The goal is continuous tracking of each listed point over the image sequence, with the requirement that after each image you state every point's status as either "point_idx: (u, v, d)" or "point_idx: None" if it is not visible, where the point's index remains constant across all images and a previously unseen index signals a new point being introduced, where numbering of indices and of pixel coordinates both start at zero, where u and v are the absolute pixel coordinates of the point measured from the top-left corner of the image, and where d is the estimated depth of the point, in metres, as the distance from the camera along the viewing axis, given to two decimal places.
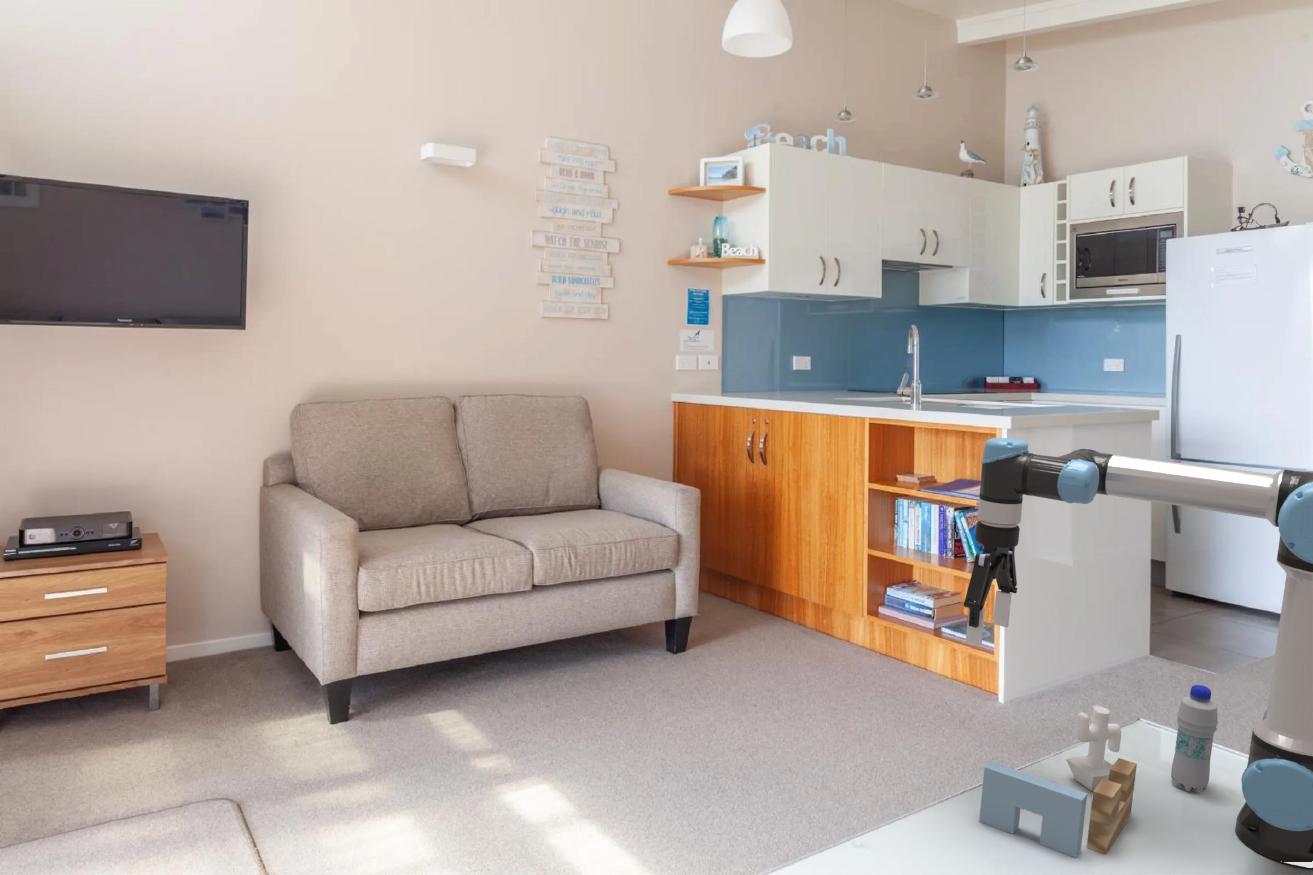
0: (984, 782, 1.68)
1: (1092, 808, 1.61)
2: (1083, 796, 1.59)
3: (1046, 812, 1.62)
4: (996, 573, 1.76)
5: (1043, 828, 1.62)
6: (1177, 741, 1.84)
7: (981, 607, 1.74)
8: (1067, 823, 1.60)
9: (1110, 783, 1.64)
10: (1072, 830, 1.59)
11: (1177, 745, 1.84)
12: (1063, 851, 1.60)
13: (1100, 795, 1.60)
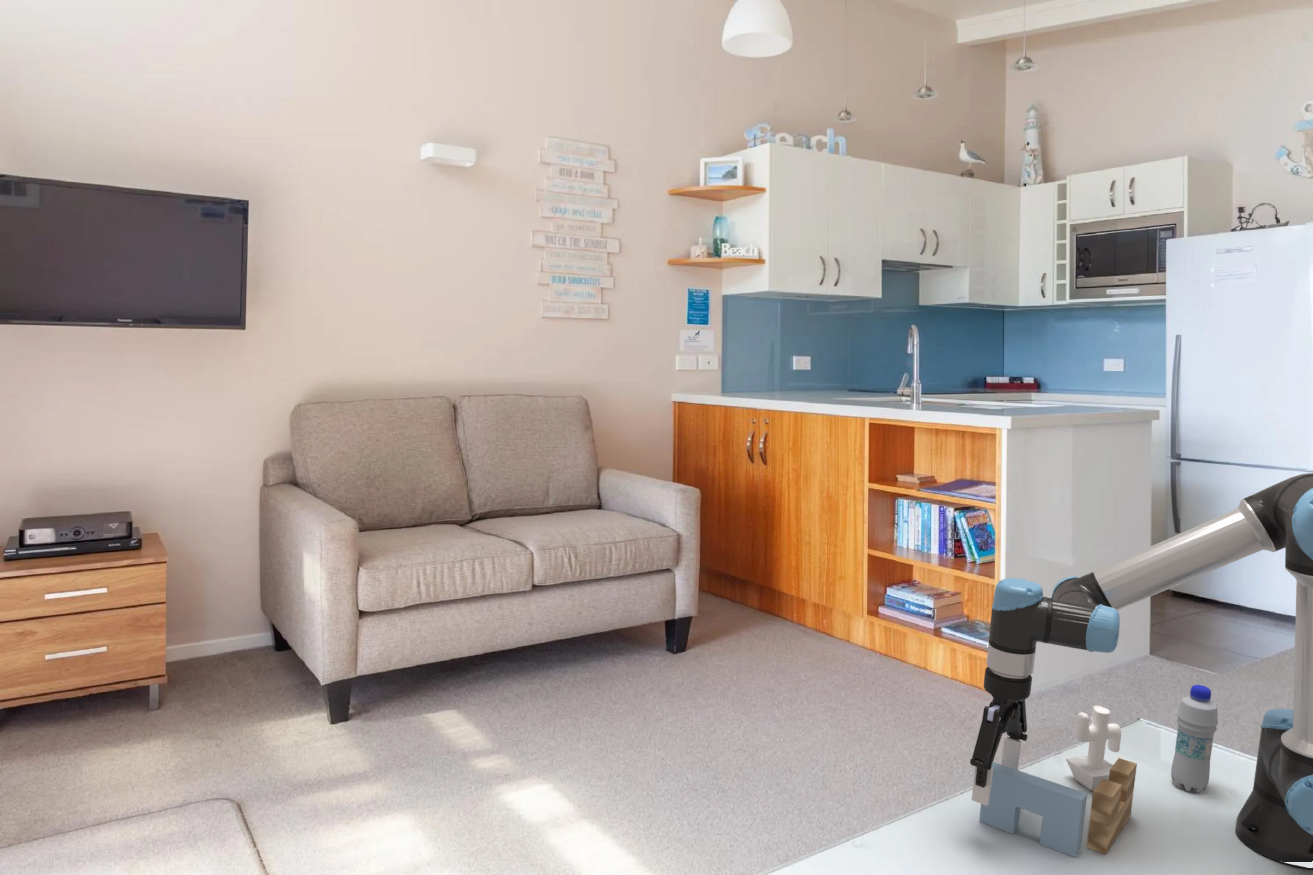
0: None
1: (1092, 808, 1.61)
2: (1083, 796, 1.59)
3: (1046, 812, 1.62)
4: (1006, 727, 1.63)
5: (1043, 828, 1.62)
6: (1177, 741, 1.84)
7: (989, 766, 1.60)
8: (1067, 823, 1.60)
9: (1110, 783, 1.64)
10: (1072, 830, 1.59)
11: (1177, 745, 1.84)
12: (1063, 851, 1.60)
13: (1100, 795, 1.60)
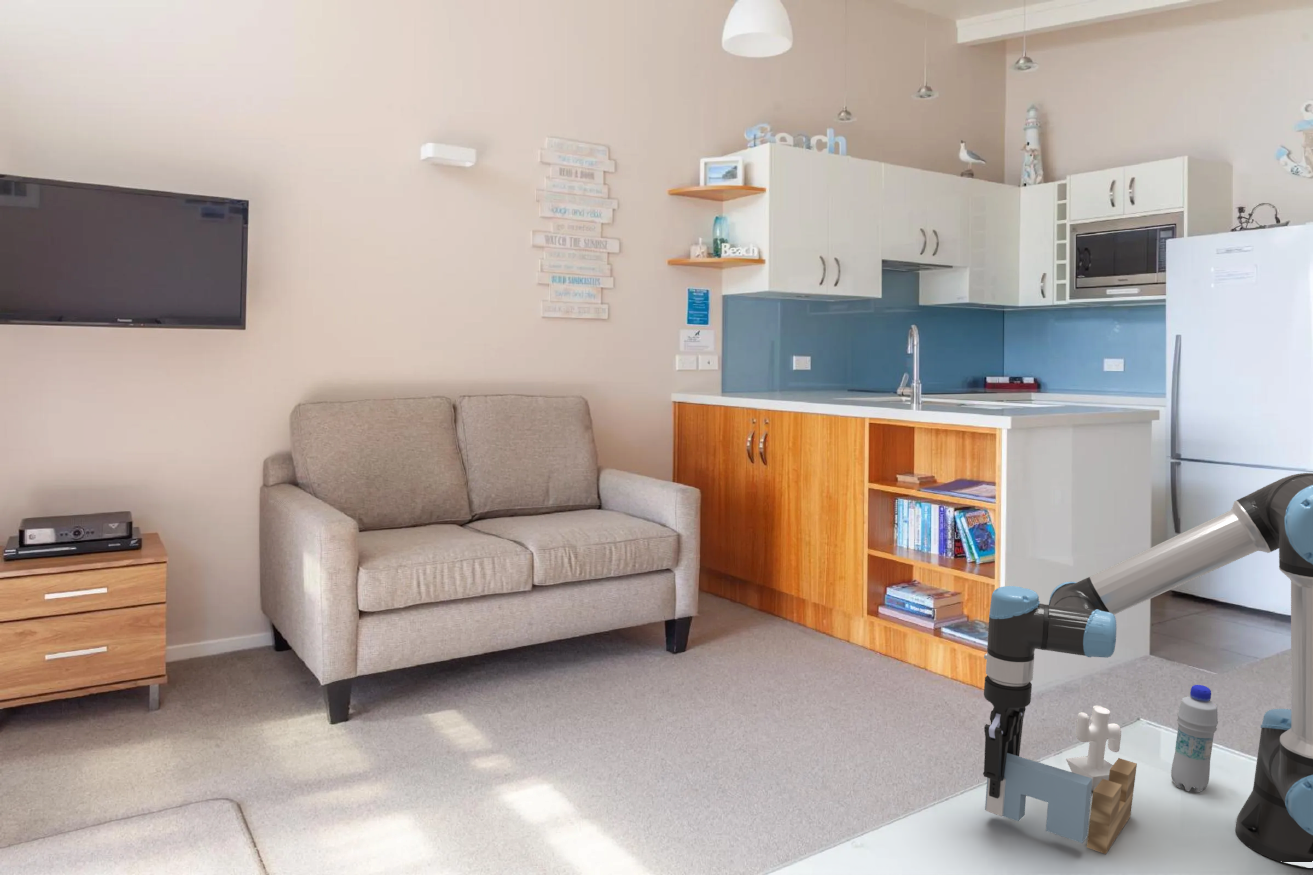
0: None
1: (1092, 808, 1.61)
2: (1088, 781, 1.58)
3: (1051, 798, 1.61)
4: (1010, 737, 1.64)
5: (1049, 814, 1.61)
6: (1177, 741, 1.84)
7: (1002, 778, 1.64)
8: (1073, 809, 1.59)
9: (1110, 783, 1.64)
10: (1078, 816, 1.58)
11: (1177, 745, 1.84)
12: (1070, 837, 1.60)
13: (1100, 795, 1.60)
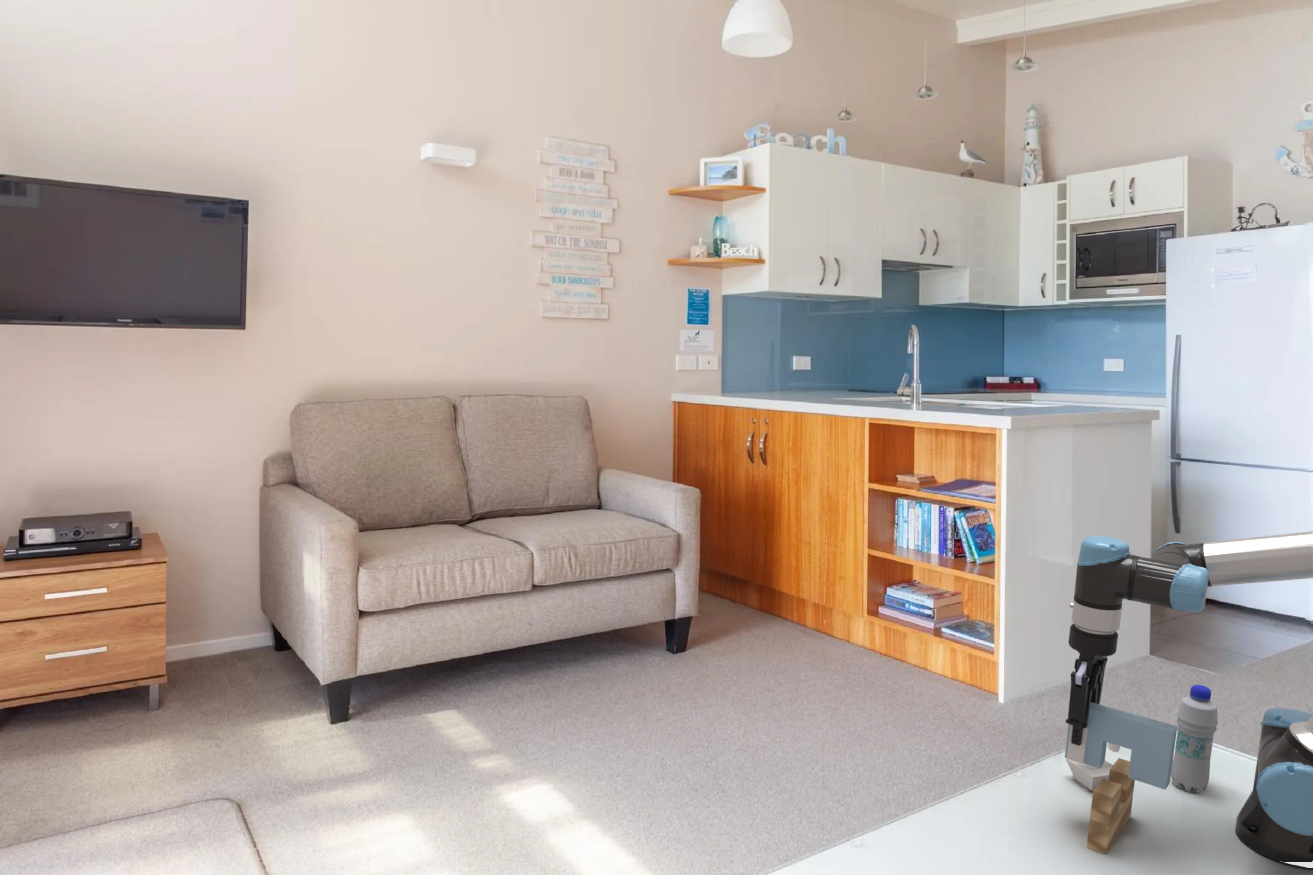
0: None
1: (1092, 808, 1.61)
2: (1174, 728, 1.60)
3: (1135, 745, 1.62)
4: (1095, 685, 1.65)
5: (1132, 761, 1.63)
6: (1177, 741, 1.84)
7: (1085, 726, 1.66)
8: (1157, 756, 1.60)
9: (1110, 783, 1.64)
10: (1163, 763, 1.60)
11: (1177, 745, 1.84)
12: (1153, 784, 1.61)
13: (1100, 795, 1.60)
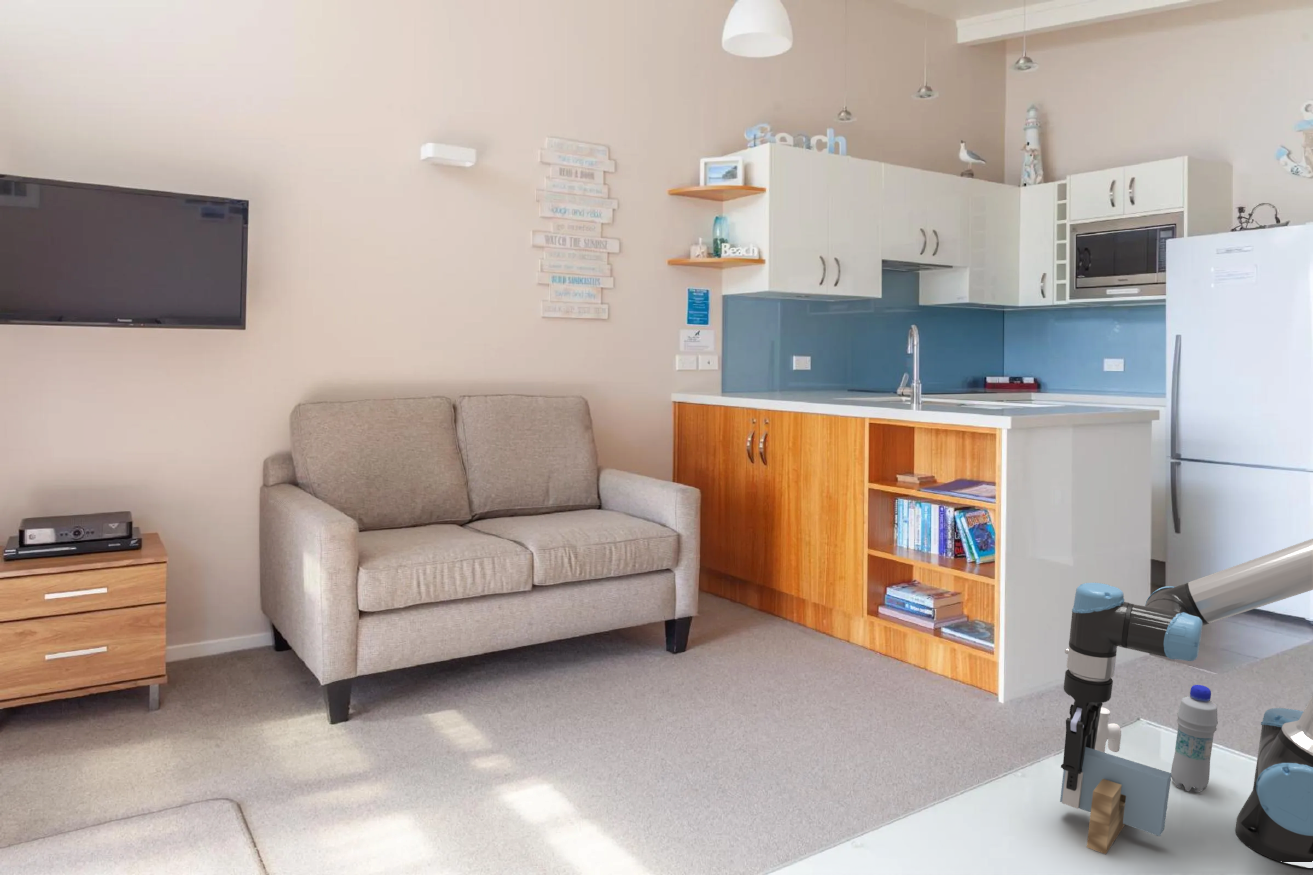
0: None
1: (1092, 808, 1.61)
2: (1168, 776, 1.61)
3: (1130, 792, 1.63)
4: (1090, 731, 1.66)
5: (1127, 808, 1.64)
6: (1177, 741, 1.84)
7: (1080, 771, 1.67)
8: (1152, 802, 1.61)
9: (1110, 783, 1.64)
10: (1157, 809, 1.61)
11: (1177, 745, 1.84)
12: (1147, 830, 1.62)
13: (1100, 795, 1.60)
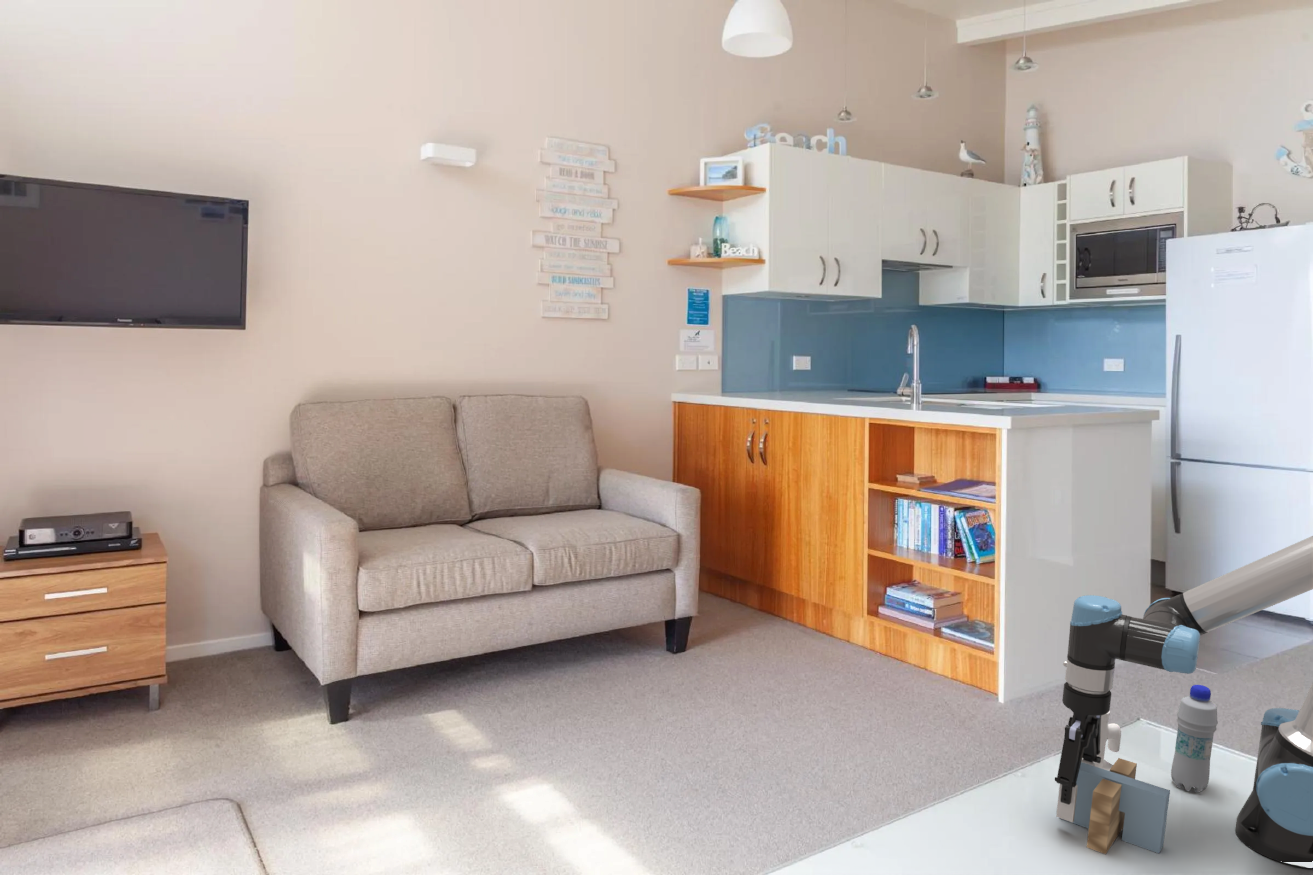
0: None
1: (1092, 808, 1.61)
2: (1167, 793, 1.61)
3: (1129, 809, 1.64)
4: (1087, 743, 1.66)
5: (1126, 824, 1.64)
6: (1177, 741, 1.84)
7: (1074, 784, 1.64)
8: (1150, 819, 1.62)
9: (1110, 783, 1.64)
10: (1156, 827, 1.61)
11: (1177, 745, 1.84)
12: (1146, 847, 1.63)
13: (1100, 795, 1.60)
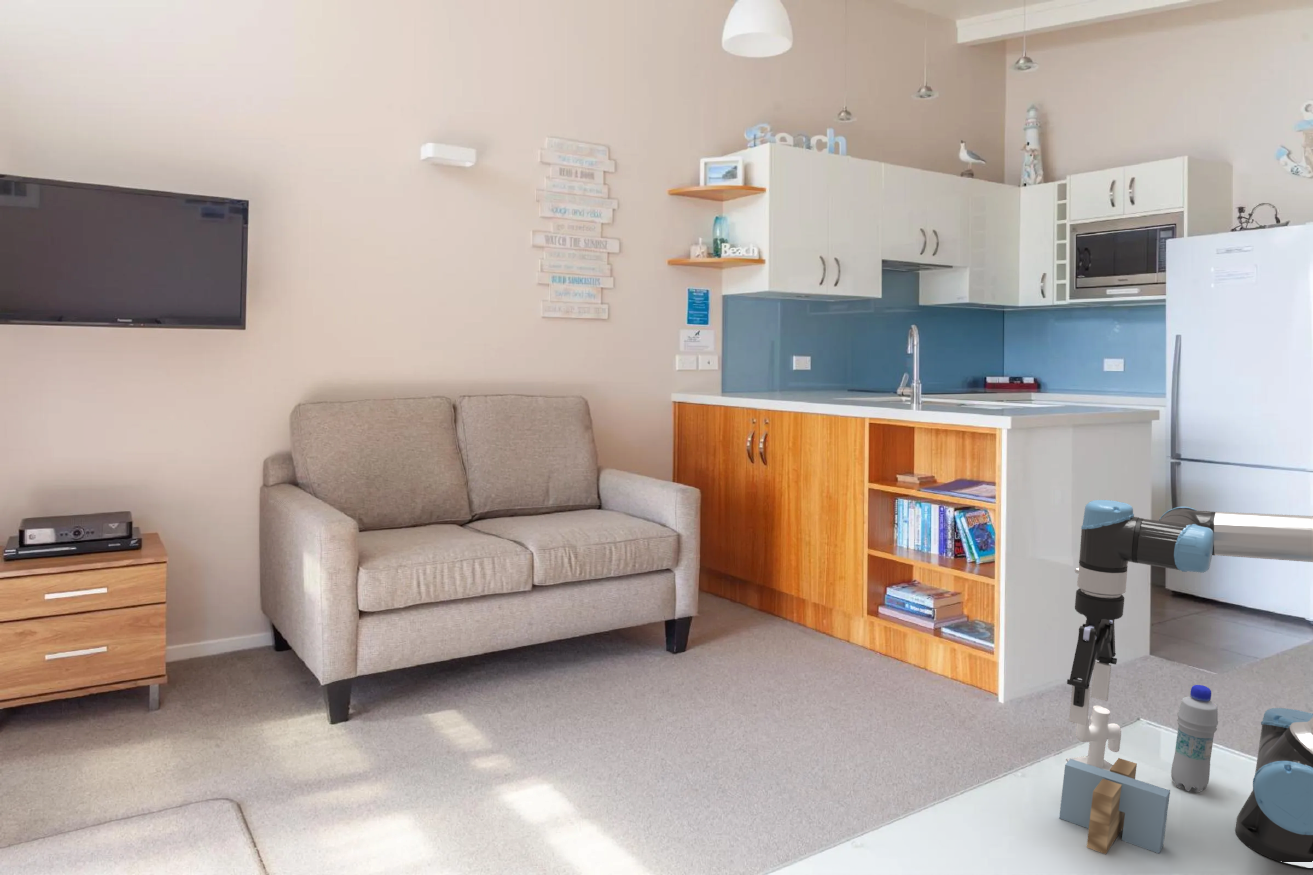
0: (1064, 779, 1.70)
1: (1092, 808, 1.61)
2: (1167, 793, 1.61)
3: (1129, 809, 1.64)
4: (1101, 647, 1.64)
5: (1126, 824, 1.64)
6: (1177, 741, 1.84)
7: (1087, 685, 1.61)
8: (1150, 819, 1.62)
9: (1110, 783, 1.64)
10: (1156, 827, 1.61)
11: (1177, 745, 1.84)
12: (1146, 847, 1.63)
13: (1100, 795, 1.60)
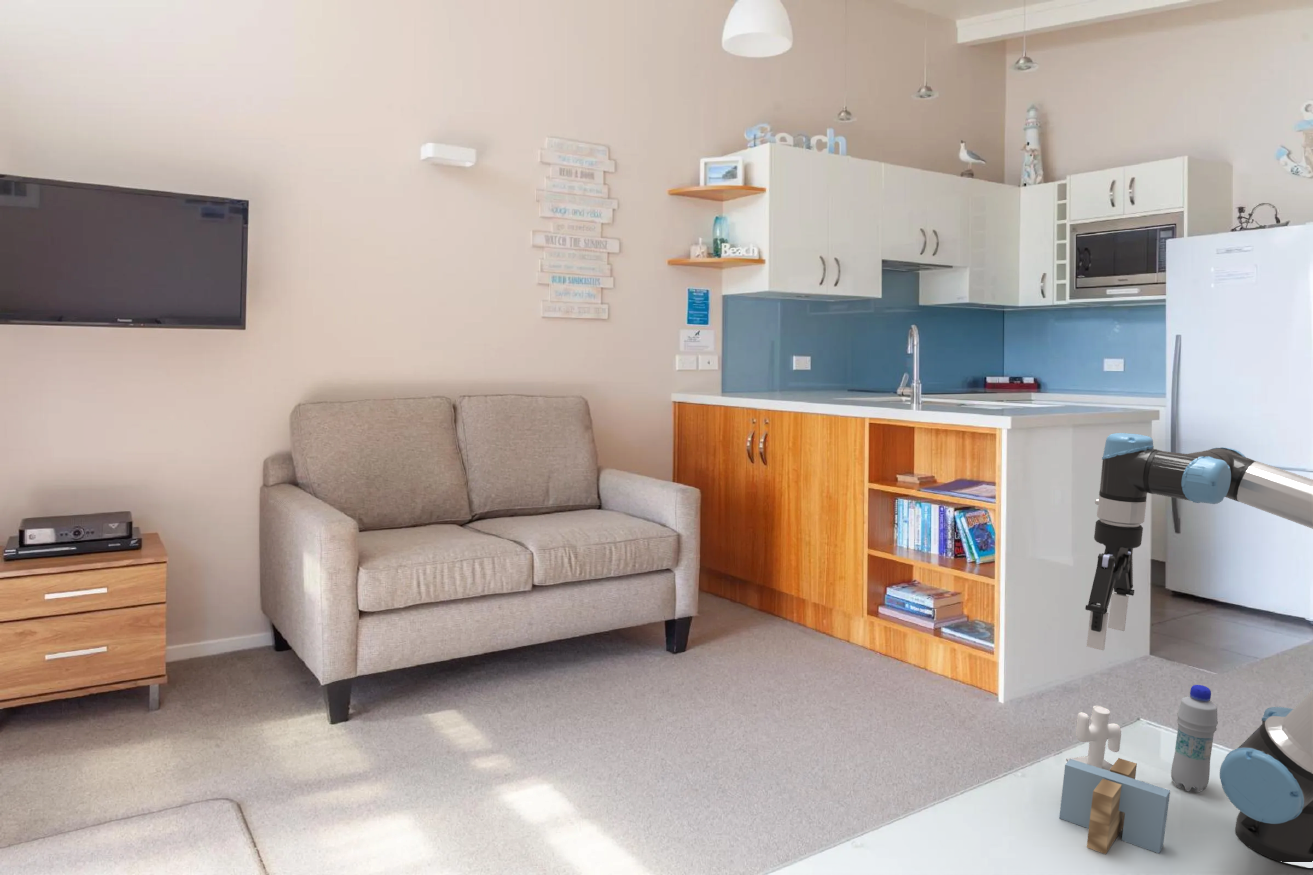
0: (1064, 779, 1.70)
1: (1092, 808, 1.61)
2: (1167, 793, 1.61)
3: (1129, 809, 1.64)
4: (1119, 575, 1.68)
5: (1126, 824, 1.64)
6: (1177, 741, 1.84)
7: (1105, 610, 1.66)
8: (1150, 819, 1.62)
9: (1110, 783, 1.64)
10: (1156, 827, 1.61)
11: (1177, 745, 1.84)
12: (1146, 847, 1.63)
13: (1100, 795, 1.60)
